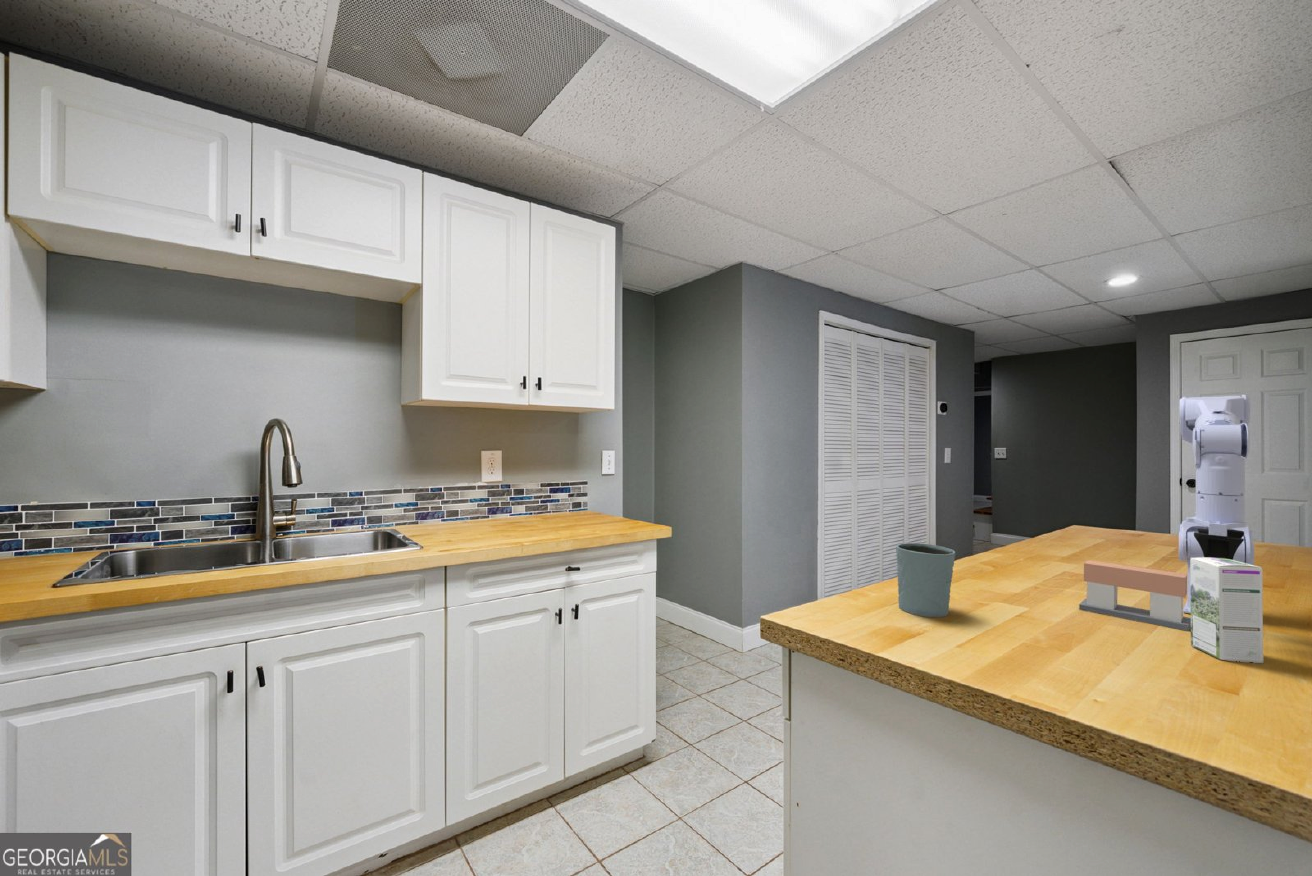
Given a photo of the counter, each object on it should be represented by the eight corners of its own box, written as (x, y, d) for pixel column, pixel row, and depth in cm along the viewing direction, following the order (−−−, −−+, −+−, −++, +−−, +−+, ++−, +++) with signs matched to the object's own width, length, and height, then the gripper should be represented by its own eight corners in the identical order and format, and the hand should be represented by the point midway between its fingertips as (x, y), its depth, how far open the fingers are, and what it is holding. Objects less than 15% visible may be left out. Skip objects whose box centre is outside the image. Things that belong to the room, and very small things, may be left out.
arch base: (1085, 603, 106) (1085, 576, 106) (1191, 623, 94) (1191, 593, 95) (1079, 609, 102) (1079, 581, 102) (1188, 631, 91) (1188, 599, 91)
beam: (1087, 577, 105) (1088, 560, 105) (1187, 593, 94) (1187, 574, 94) (1083, 581, 102) (1083, 563, 102) (1185, 597, 92) (1185, 577, 92)
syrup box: (1265, 664, 77) (1266, 566, 77) (1218, 660, 78) (1218, 564, 78) (1231, 649, 83) (1232, 558, 83) (1187, 645, 84) (1188, 556, 84)
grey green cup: (889, 600, 106) (889, 541, 106) (941, 603, 105) (942, 543, 105) (905, 617, 96) (906, 552, 96) (964, 620, 95) (964, 554, 95)
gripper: (1189, 490, 97) (1189, 563, 97) (1182, 494, 87) (1182, 575, 87) (1246, 493, 92) (1246, 570, 92) (1246, 498, 82) (1245, 584, 82)
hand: (1219, 573), depth 89 cm, fingers open, 7 cm apart
